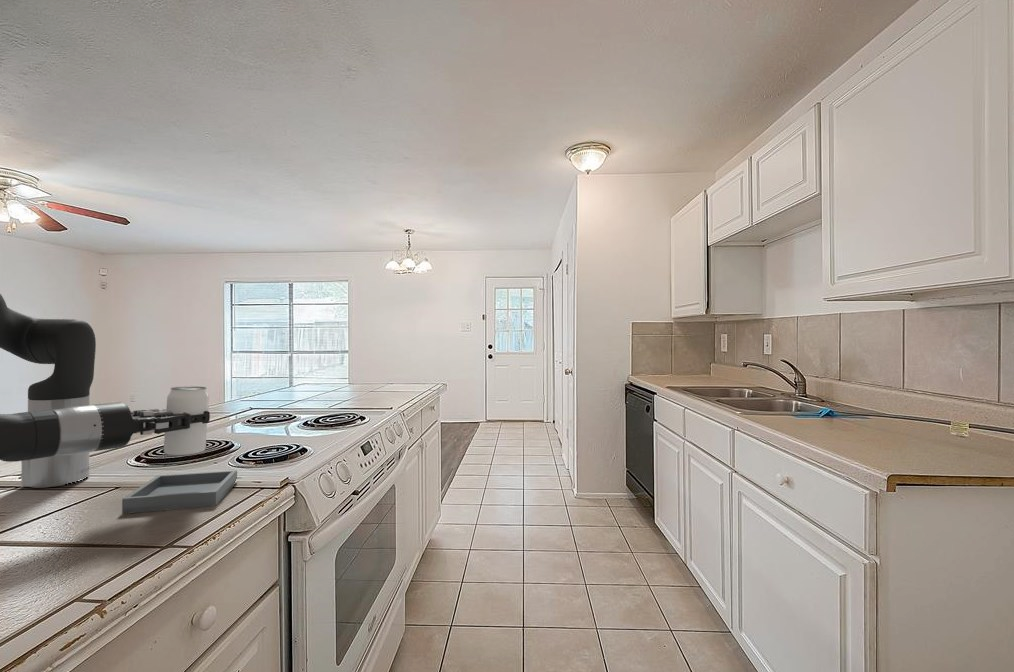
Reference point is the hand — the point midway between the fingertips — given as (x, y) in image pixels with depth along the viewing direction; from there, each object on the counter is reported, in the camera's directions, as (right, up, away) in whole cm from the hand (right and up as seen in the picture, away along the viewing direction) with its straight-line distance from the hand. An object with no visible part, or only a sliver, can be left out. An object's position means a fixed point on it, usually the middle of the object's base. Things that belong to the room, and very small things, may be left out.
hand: (199, 415), depth 91 cm
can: (-1, -7, -2) cm, 7 cm away
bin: (-1, -15, -2) cm, 15 cm away
